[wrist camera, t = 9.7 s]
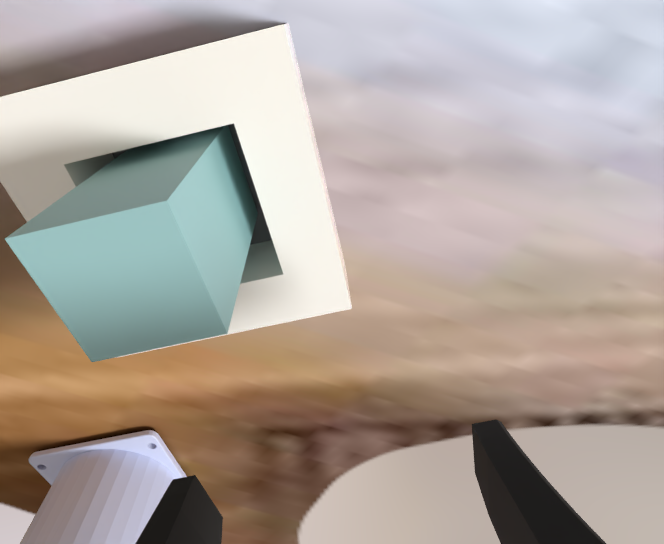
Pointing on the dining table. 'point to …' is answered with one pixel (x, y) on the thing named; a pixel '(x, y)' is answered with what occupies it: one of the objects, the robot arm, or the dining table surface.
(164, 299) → the post
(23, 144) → the well
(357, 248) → the dining table surface
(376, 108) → the dining table surface
